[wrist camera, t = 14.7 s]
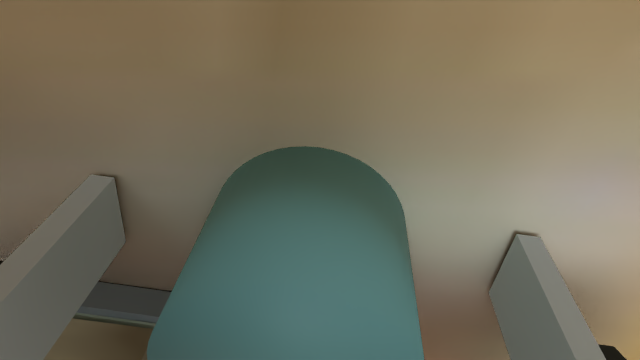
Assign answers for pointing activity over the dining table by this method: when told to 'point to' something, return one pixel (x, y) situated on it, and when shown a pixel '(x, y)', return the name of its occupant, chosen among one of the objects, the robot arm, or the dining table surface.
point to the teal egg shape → (296, 268)
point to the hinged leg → (100, 342)
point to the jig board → (123, 305)
